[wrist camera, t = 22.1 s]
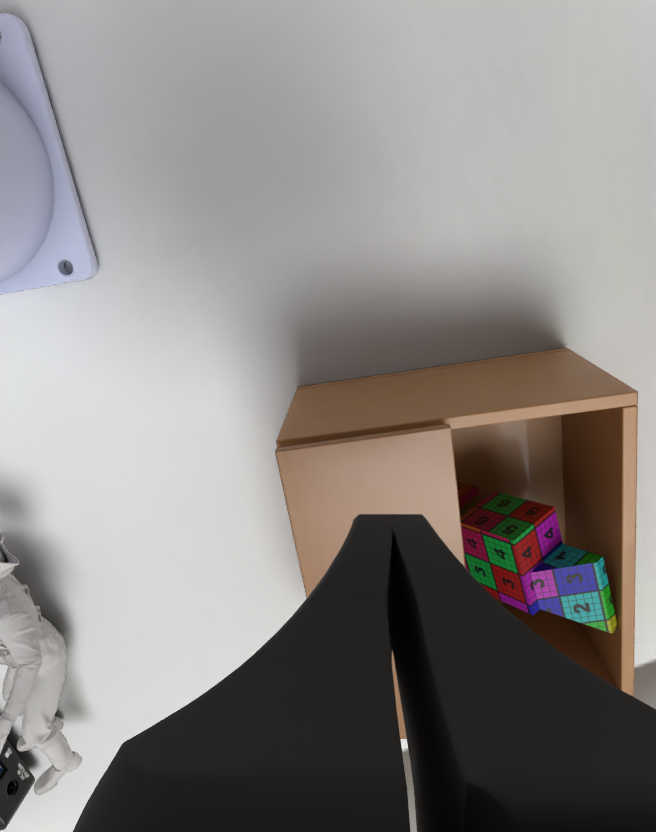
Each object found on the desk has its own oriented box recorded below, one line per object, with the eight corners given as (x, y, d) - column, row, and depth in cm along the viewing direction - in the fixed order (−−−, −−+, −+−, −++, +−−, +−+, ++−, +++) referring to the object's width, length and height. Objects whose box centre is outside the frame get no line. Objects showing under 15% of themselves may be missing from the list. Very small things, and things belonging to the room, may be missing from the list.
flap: (338, 736, 19) (338, 744, 18) (276, 447, 15) (274, 451, 15) (480, 724, 18) (482, 732, 18) (449, 423, 15) (451, 427, 14)
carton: (342, 620, 24) (337, 727, 19) (297, 386, 21) (275, 440, 16) (574, 598, 23) (634, 705, 18) (566, 347, 20) (638, 391, 14)
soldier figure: (-1, 703, 28) (-156, 555, 21) (87, 638, 31) (-25, 485, 23) (52, 832, 23) (-127, 697, 16) (153, 743, 26) (36, 590, 18)
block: (473, 566, 22) (413, 615, 21) (447, 479, 21) (382, 524, 19) (617, 627, 17) (552, 699, 16) (595, 517, 16) (522, 583, 14)
